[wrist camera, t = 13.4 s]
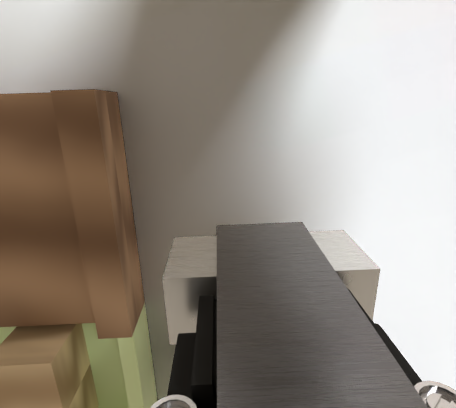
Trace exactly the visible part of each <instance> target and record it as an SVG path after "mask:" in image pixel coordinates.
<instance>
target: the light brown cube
mask: <svg viewBox="0 0 456 408" xmlns="http://www.w3.org/2000/svg"><path fill="white" fill-rule="evenodd" d="M89 365H90V360H89V355H88V351H87V346H86V341H85V337H84V332H83V328H82V323H81V324H60V325H38V326H17V327H16V328H15V329H14V330H13V331H12V332H11V333H10V334H9V335H8V337H7V338H6V339H5V340H4V341H3V342H2V343H1V344H0V408H69V406H70V404H71V402H72V400H73V398H74V396H75V394H76V392H77V390H78V388H79V386H80V383H81V381H82V379H83V377H84V375H85V373H86V371H87V369H88V367H89Z"/></svg>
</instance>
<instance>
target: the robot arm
mask: <svg viewBox="0 0 456 408" xmlns="http://www.w3.org/2000/svg"><path fill="white" fill-rule="evenodd" d="M348 290H349V289H348ZM349 292H350V293H351V291H350V290H349ZM351 295H352V296H353V298H354V299H355V301H356V302H357V304H358V305H359V307H360V308H361V309H362V311H363V312H364V314H365V315H366V317H367V318H368V320H369V321H370V323H371V324H372V326H373V327H374V329H375V330H376V332H377V333H378V334H379V336H380V337H381V339H382V340H383V342H384V343H385V345H386V346H387V348H388V349H389V351H390V352H391V354H392V355H393V357H394V358H395V359H396V361H397V362H398V364H399V365H400V367H401V368H402V370H403V371H404V373H405V374H406V376H407V377H408V379H409V380H410V382H411V383H412V384H413V386H414V387H415V389H416V390H417V392H418V393H419V395H420V396H421V398H422V399H423V401H424V402H425V404H426V405H427V407H428V408H456V390H454V389H452V388H451V387H449V386H446V385H444V384H441V383H438V382H433V381H421V379H420V378H419V377H418V375H417V374H416V373H415V371H414V370H413V369H412V367H411V366H410V365H409V363H408V362H407V361H406V359H405V358H404V357H403V355H402V354H401V353H400V351H399V350H398V349H397V348H396V346H395V345H394V344H393V342H392V341H391V340H390V338H389V337H388V336H387V334H386V333H385V332H384V330H383V329H382V328H381V327H380V326H379V325H378V324H374V322H373V321H372V320H371V318H370V317H369V316H368V314H367V313H366V312H365V310H364V309H363V307H362V306H361V305H360V303H359V302H358V301H357V299H356V298H355V297H354V295H353V294H352V293H351ZM150 408H217V299H214V295H202V296H199V304H198V315H197V325H196V333H179V334H178V337H177V342H176V348H175V354H174V360H173V365H172V371H171V377H170V383H169V388H168V394H167V396H166V397H163V398H161V399H160V400H158V401H157V402H155V403H154V404H153V405H152V406H151V407H150Z"/></svg>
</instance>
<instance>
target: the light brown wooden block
mask: <svg viewBox="0 0 456 408" xmlns="http://www.w3.org/2000/svg"><path fill="white" fill-rule="evenodd" d="M98 406H99V404H98V399H97V394H96V389H95V385H94V380H93V375H92V370H91V365H89V367H88V369H87V371H86V373H85V375H84V377H83V379H82V381H81V383H80V386H79V388H78V390H77V392H76V394H75V396H74V398H73V400H72V402H71V404H70V406H69V408H98Z"/></svg>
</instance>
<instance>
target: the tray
mask: <svg viewBox="0 0 456 408" xmlns="http://www.w3.org/2000/svg"><path fill="white" fill-rule="evenodd" d="M15 328H16V327H0V344H1V343H2V342H3V341H4V340H5V339H6V338H7V337H8V335H9V334H10V333H11V332H12V331H13V330H14V329H15ZM82 328H83V332H84V337H85V341H86V346H87V351H88V355H89V360H90V365H91V370H92V375H93V380H94V385H95V389H96V394H97V399H98V404H99V406H98V408H150V407H151V406H152V405H153V404H154V403H155V402H157V401H158V399H157V391H156V383H155V376H154V368H153V361H152V353H151V345H150V338H149V330H148V323H147V315H146V307H145V303H144V306H143V308H142V311H141V314H140V317H139V319H138V322H137V325H136V327H135V330H134V333H133V335H132V337H128V338H107V339H98V335H97V330H96V325H95V323H82Z"/></svg>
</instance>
